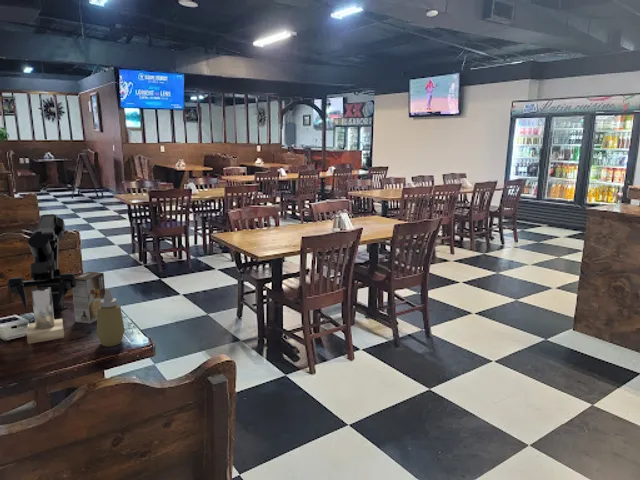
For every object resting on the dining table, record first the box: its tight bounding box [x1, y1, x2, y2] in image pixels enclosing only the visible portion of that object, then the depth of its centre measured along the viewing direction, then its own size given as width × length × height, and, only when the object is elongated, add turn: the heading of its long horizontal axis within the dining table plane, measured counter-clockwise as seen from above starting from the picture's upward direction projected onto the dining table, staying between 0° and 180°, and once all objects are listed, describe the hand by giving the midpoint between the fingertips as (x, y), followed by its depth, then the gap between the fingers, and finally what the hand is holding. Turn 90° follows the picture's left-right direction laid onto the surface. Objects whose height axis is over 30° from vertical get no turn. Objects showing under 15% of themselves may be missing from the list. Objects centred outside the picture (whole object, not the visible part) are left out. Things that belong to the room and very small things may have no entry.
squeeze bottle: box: [96, 287, 125, 347], centre depth 144 cm, size 8×8×18 cm
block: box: [26, 318, 65, 344], centre depth 150 cm, size 10×10×3 cm
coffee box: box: [71, 271, 106, 324], centre depth 163 cm, size 9×6×16 cm
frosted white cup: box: [31, 287, 55, 329], centre depth 149 cm, size 5×5×12 cm
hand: (42, 306), depth 147 cm, fingers open, 9 cm apart
